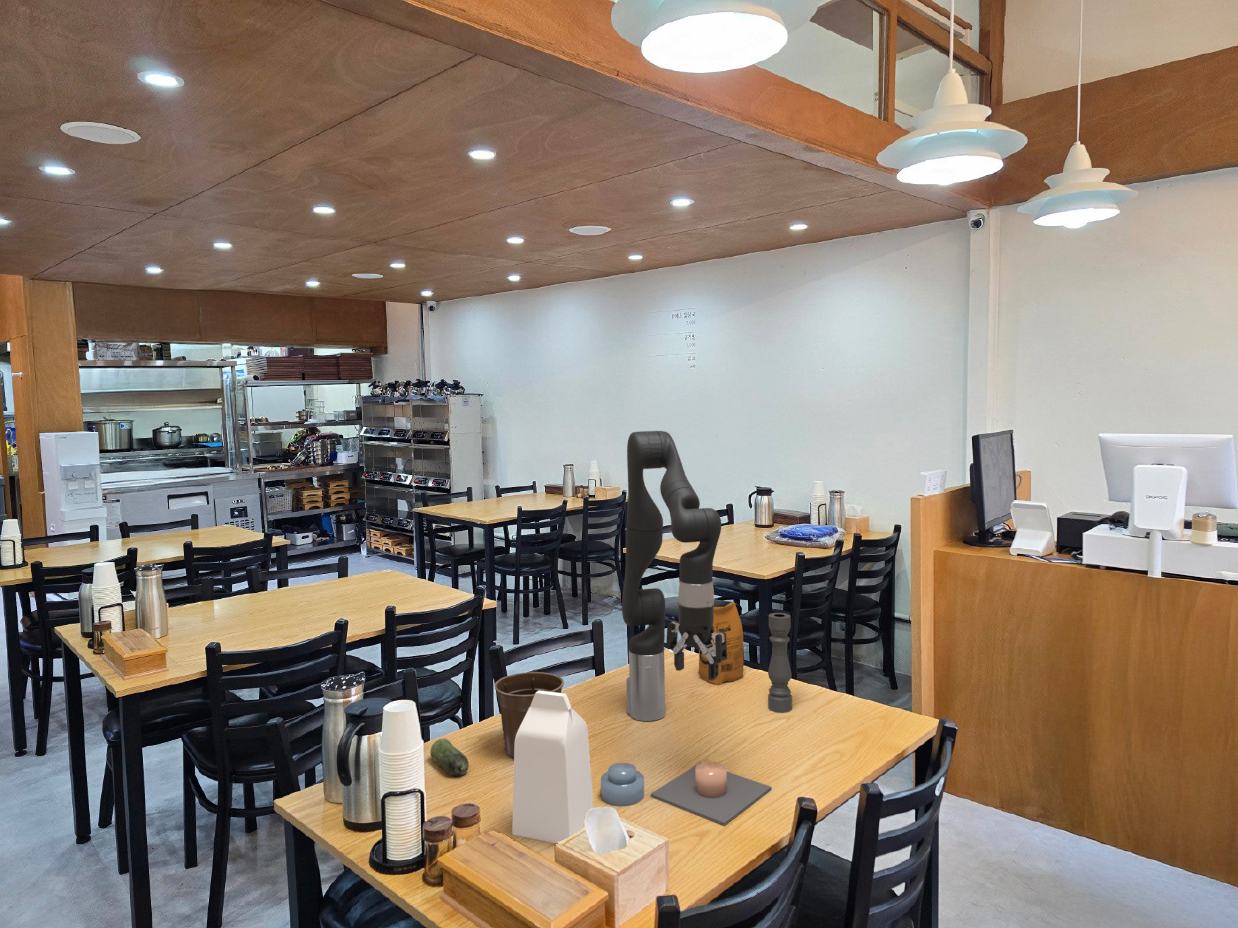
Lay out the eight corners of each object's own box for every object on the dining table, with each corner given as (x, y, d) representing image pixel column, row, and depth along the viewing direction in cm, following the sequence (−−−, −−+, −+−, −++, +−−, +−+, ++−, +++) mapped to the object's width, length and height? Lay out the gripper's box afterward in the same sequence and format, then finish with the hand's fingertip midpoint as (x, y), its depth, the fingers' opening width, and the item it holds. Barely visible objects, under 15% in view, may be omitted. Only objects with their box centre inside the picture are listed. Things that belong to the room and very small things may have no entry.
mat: (650, 796, 158) (650, 793, 158) (700, 764, 172) (700, 762, 172) (724, 825, 147) (724, 822, 147) (771, 789, 160) (771, 786, 160)
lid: (689, 791, 159) (689, 769, 159) (706, 779, 164) (706, 759, 164) (715, 800, 155) (715, 779, 155) (732, 788, 160) (732, 767, 159)
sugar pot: (592, 796, 159) (591, 770, 158) (620, 779, 166) (619, 755, 165) (625, 810, 153) (624, 783, 153) (653, 792, 160) (652, 767, 159)
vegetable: (427, 760, 177) (426, 739, 177) (448, 753, 180) (447, 733, 180) (452, 783, 166) (451, 760, 166) (474, 776, 169) (473, 754, 169)
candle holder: (793, 705, 205) (792, 613, 204) (790, 713, 200) (790, 619, 198) (769, 702, 208) (769, 611, 206) (766, 711, 202) (765, 617, 200)
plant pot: (528, 729, 193) (527, 666, 192) (579, 744, 184) (577, 678, 183) (482, 753, 180) (479, 686, 179) (533, 771, 170) (531, 700, 169)
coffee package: (694, 677, 228) (693, 604, 227) (726, 669, 235) (725, 598, 233) (715, 687, 220) (714, 611, 218) (748, 678, 226) (747, 605, 225)
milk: (512, 834, 145) (508, 700, 143) (539, 804, 156) (536, 679, 154) (569, 845, 141) (566, 708, 139) (594, 814, 152) (591, 686, 150)
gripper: (658, 599, 166) (659, 671, 167) (714, 611, 156) (714, 687, 158) (679, 591, 171) (679, 662, 173) (734, 603, 162) (733, 677, 164)
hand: (696, 674), depth 166 cm, fingers open, 8 cm apart
